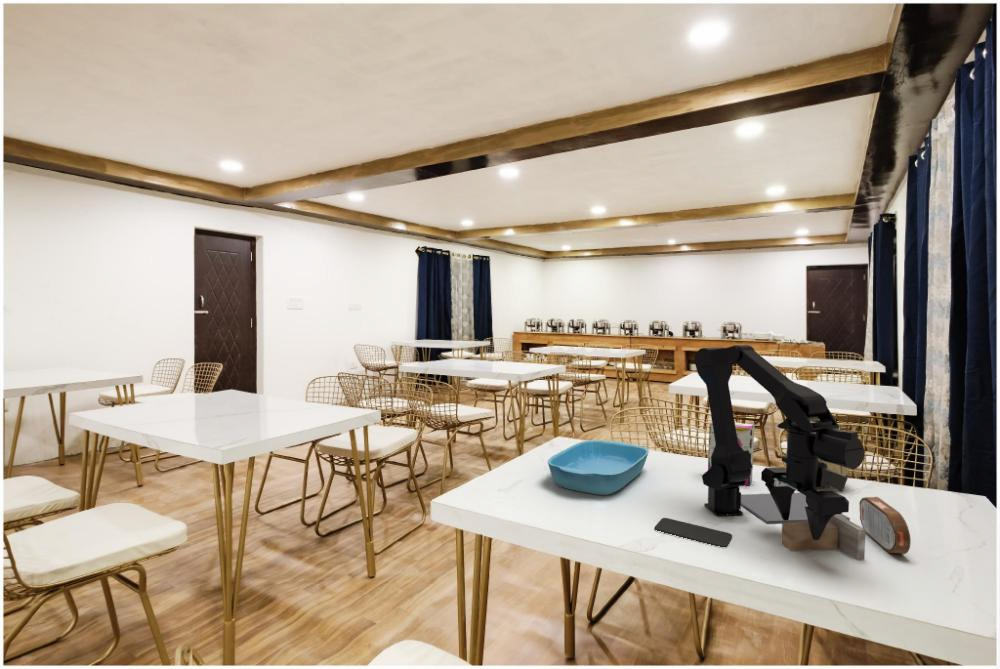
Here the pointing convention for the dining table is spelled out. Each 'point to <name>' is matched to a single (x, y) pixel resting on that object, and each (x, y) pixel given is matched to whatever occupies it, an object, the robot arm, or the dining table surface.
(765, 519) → the tool mat
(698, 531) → the phone
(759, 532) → the dining table surface
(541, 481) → the dining table surface
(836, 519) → the t-shaped pusher tool
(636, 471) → the casserole dish
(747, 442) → the candy bar box
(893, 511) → the tin
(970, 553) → the dining table surface
